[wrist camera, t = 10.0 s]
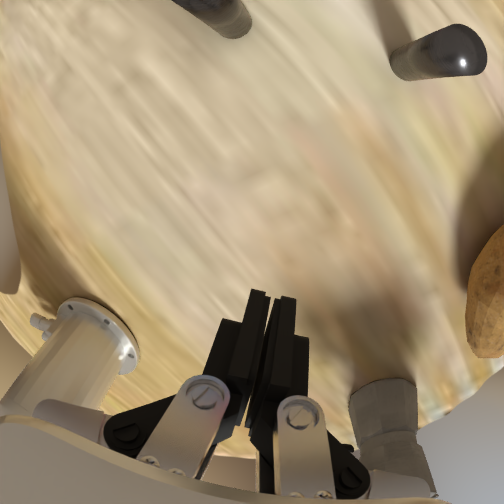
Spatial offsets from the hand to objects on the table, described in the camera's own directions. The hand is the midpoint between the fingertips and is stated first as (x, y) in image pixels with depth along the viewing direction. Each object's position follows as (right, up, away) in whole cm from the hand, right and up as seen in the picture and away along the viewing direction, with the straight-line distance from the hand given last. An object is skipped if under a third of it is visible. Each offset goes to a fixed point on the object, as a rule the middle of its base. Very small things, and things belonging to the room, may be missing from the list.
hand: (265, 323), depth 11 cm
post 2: (+10, +16, +5) cm, 20 cm away
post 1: (-2, +19, +6) cm, 20 cm away
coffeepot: (+15, -15, +21) cm, 30 cm away
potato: (+23, +2, +11) cm, 25 cm away
